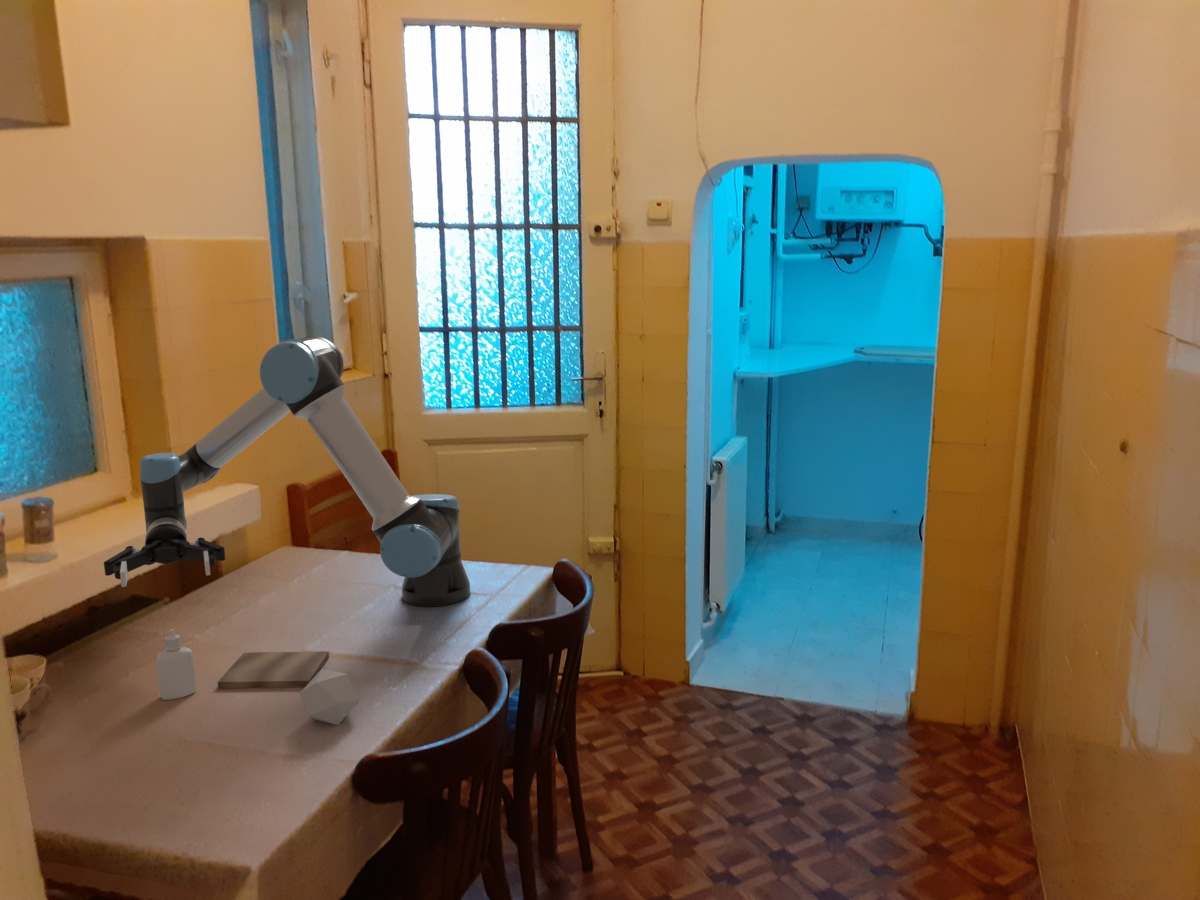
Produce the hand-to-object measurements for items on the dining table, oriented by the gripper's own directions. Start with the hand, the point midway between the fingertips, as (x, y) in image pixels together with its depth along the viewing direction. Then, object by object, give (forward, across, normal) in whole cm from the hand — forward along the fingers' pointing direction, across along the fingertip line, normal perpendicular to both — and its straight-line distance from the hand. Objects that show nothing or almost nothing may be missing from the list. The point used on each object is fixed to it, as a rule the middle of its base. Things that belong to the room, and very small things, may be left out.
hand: (166, 573), depth 156 cm
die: (+30, -23, -19) cm, 42 cm away
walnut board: (+8, -16, -19) cm, 26 cm away
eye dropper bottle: (+10, 0, -19) cm, 22 cm away
